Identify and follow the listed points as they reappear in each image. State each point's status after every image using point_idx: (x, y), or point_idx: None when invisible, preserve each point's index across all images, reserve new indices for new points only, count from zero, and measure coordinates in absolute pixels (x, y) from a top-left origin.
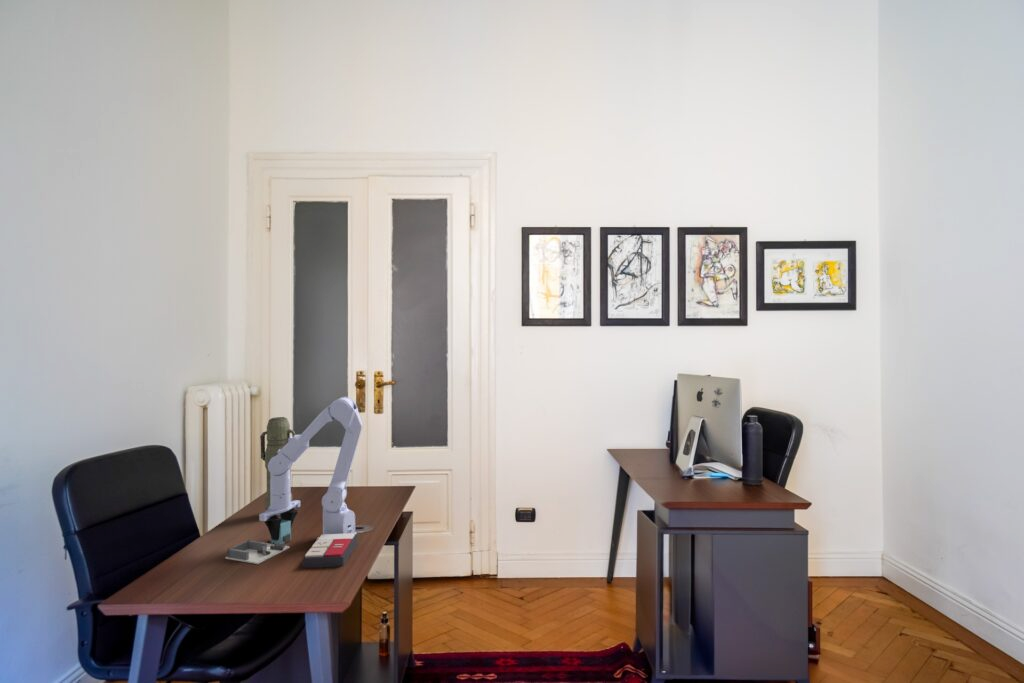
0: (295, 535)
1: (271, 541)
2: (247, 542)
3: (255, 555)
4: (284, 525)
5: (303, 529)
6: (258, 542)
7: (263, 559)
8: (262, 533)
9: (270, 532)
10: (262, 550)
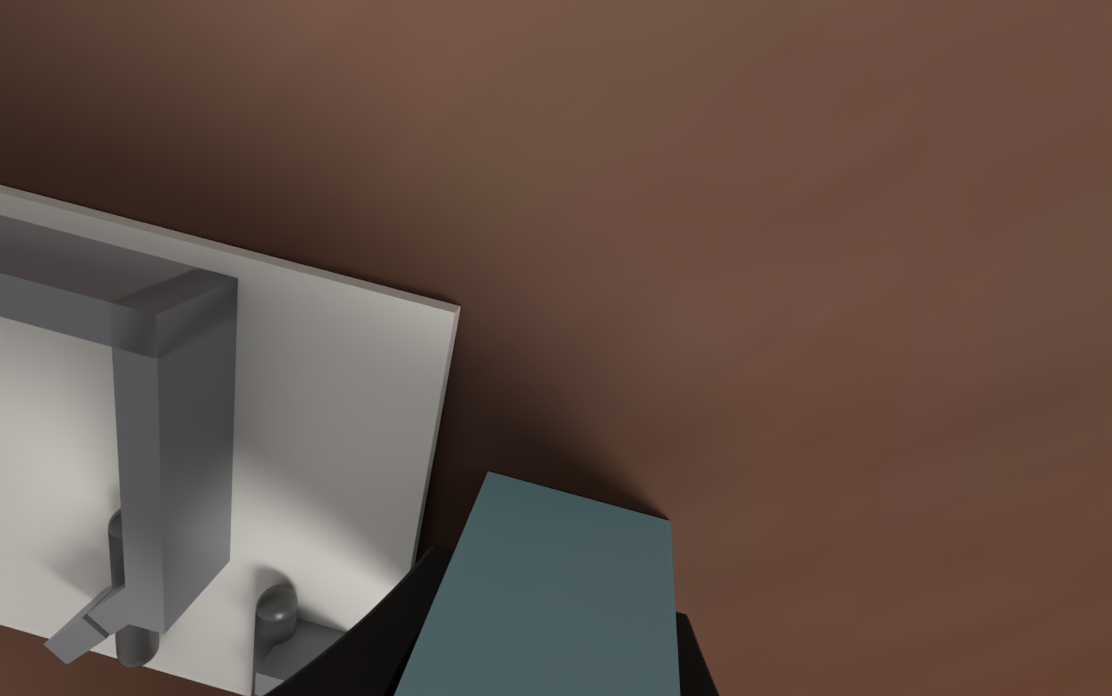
0: (780, 651)
1: (480, 495)
2: (113, 336)
3: (75, 513)
4: None
5: (1033, 668)
6: (136, 527)
7: (38, 632)
8: (940, 76)
9: (369, 624)
10: (114, 585)
